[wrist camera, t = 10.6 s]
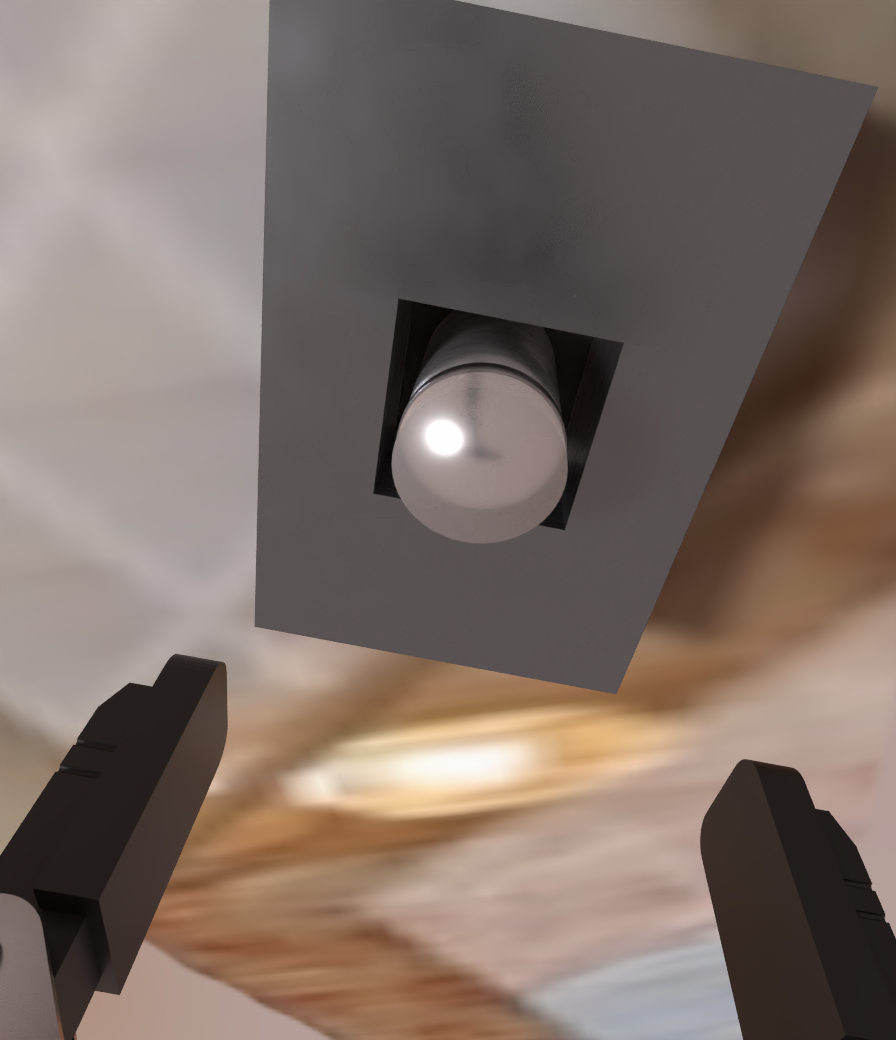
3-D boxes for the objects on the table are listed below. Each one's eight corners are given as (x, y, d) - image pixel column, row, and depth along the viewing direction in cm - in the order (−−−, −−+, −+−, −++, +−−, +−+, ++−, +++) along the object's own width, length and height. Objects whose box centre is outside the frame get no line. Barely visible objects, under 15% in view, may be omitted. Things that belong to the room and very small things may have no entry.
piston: (435, 286, 24) (402, 369, 17) (571, 314, 24) (591, 406, 17) (414, 413, 27) (380, 527, 20) (538, 437, 27) (544, 559, 20)
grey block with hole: (323, -13, 20) (270, -38, 16) (802, 85, 20) (878, 87, 16) (291, 551, 31) (254, 626, 26) (603, 610, 31) (616, 694, 27)
